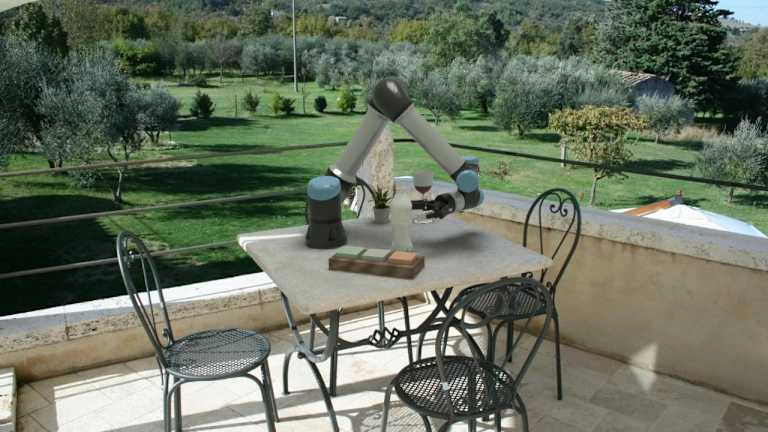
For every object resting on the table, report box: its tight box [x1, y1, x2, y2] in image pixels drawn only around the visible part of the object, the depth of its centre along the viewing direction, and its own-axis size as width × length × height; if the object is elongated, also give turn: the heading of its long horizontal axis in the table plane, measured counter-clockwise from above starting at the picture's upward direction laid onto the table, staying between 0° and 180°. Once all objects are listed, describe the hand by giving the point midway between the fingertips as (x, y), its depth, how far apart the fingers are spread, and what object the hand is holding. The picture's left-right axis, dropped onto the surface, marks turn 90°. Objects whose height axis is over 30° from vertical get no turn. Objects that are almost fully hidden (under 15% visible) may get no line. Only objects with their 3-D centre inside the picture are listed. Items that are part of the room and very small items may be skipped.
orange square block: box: [389, 251, 419, 265], centre depth 192 cm, size 7×7×3 cm
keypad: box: [327, 249, 426, 280], centre depth 196 cm, size 28×12×4 cm, turn 69°
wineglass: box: [412, 169, 434, 224], centre depth 246 cm, size 8×9×20 cm
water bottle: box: [390, 180, 413, 253], centre depth 207 cm, size 7×7×25 cm
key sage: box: [335, 245, 366, 260], centre depth 199 cm, size 7×7×3 cm
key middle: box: [362, 248, 392, 262], centre depth 195 cm, size 7×7×3 cm
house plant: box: [366, 183, 396, 224], centre depth 247 cm, size 14×14×16 cm
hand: (404, 213), depth 206 cm, fingers open, 13 cm apart
